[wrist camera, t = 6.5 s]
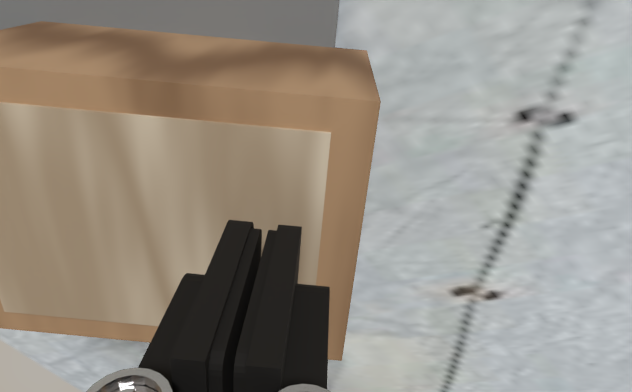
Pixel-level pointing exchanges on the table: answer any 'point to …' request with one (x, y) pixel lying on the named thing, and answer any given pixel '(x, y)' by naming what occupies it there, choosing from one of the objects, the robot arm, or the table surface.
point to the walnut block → (170, 168)
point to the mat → (190, 17)
